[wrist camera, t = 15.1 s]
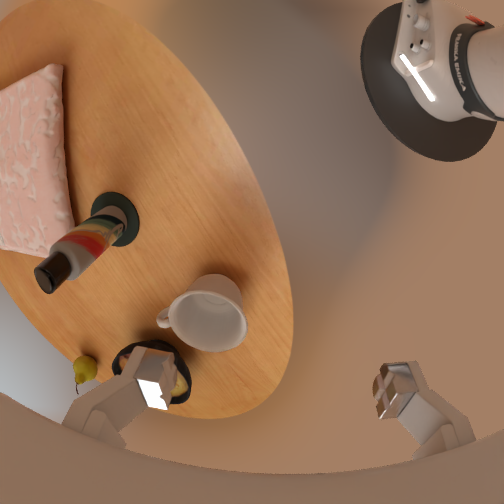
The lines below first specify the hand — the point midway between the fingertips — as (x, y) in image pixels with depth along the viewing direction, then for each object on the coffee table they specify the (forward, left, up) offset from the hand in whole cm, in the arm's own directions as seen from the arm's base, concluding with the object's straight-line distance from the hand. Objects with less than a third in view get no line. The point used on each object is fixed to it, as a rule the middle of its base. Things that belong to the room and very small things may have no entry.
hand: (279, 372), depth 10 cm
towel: (-3, -52, -34) cm, 62 cm away
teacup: (+20, -10, -34) cm, 41 cm away
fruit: (+48, -45, -34) cm, 74 cm away
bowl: (+39, -22, -34) cm, 56 cm away
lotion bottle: (+8, -27, -34) cm, 44 cm away
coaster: (+8, -27, -34) cm, 44 cm away
